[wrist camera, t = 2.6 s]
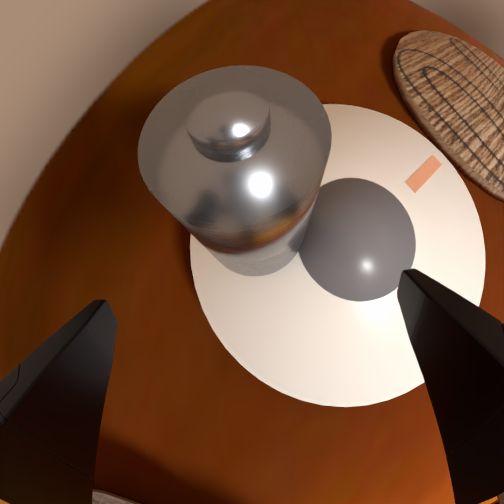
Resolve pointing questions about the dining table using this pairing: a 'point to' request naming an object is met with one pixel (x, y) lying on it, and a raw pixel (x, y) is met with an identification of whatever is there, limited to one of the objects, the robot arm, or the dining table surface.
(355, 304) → the turntable
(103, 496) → the tin
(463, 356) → the robot arm
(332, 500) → the dining table surface
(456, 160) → the trivet
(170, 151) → the grey metal cylinder
